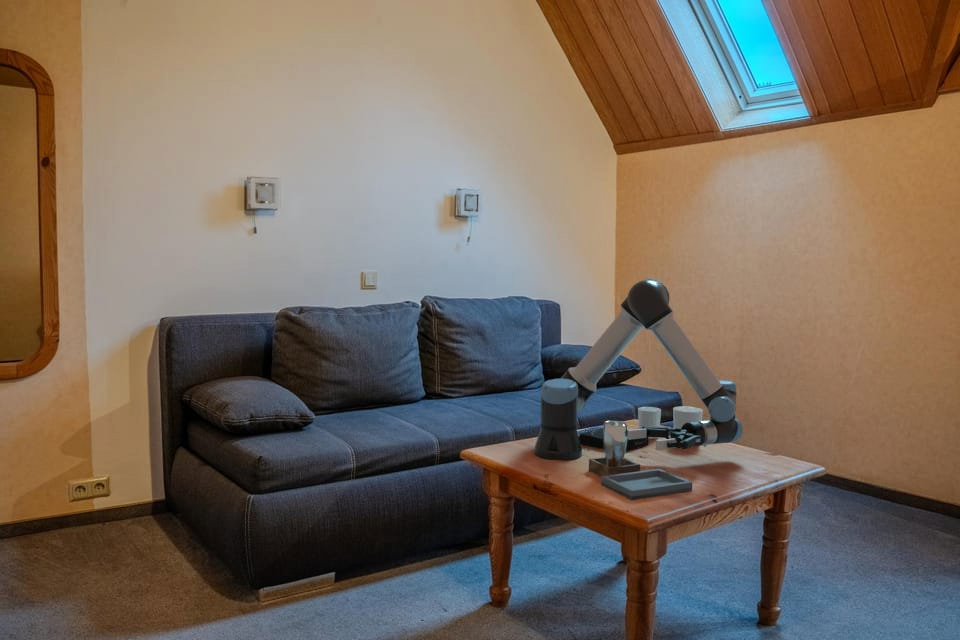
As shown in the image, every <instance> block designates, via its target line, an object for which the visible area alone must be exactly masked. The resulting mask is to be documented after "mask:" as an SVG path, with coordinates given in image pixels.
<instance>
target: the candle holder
mask: <svg viewBox="0 0 960 640" xmlns="http://www.w3.org/2000/svg"><path fill="white" fill-rule="evenodd" d="M672 411H673V412H672V413H673V416H672V417H673V428H682V426H683V425H684V424H685V423H687V422H697V421H703V412H704V410H703V409H702V408H700V407H695V406H685V405H684V406H683V405H682V406H674V407H672Z"/></svg>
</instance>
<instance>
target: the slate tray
mask: <svg viewBox="0 0 960 640" xmlns="http://www.w3.org/2000/svg"><path fill="white" fill-rule="evenodd" d="M600 477H601V479H600V480H601V481H600V485H601V487H603V488H606V489H607V490H610V491H611V492H614V493H616V494H618V495H619V496H622V497H624V498H626V499H627V500H630V501H635V500H644V499H649V498H655V497H656V498H657V497H662V496H671V495H675V494H676V495H677V494H682V493H690V492H693V481H690V480H688V479H685V478H683V477H681V476H679V475H676V474H673V473H671V472H668V471H665V470H664V469H662V468H653V469H647V470H646V469H645V470H640V471H638V472H630V473H623V474H615V475H608V476H600Z"/></svg>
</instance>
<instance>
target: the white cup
mask: <svg viewBox="0 0 960 640" xmlns="http://www.w3.org/2000/svg"><path fill="white" fill-rule="evenodd" d="M661 416H662V409H661V408H658V407H653V406H642V407H641V406H640V407H638V408H637V420H638V421H637V422H638V424H637V425H638V426H637V427H638V429H642V427H643V426H644V427H661V425H660V424H661ZM658 438H659V437H648V440H657V439H658Z"/></svg>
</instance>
